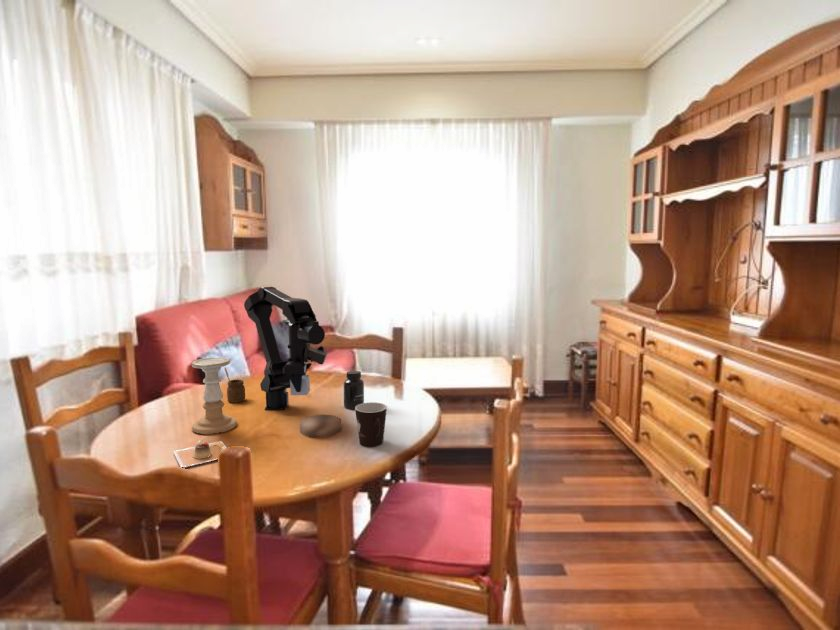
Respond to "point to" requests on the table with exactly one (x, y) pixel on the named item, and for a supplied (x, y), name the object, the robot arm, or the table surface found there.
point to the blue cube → (304, 386)
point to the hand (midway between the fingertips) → (300, 389)
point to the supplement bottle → (353, 390)
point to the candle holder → (213, 398)
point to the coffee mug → (371, 423)
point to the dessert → (198, 452)
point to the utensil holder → (235, 390)
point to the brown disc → (320, 425)
